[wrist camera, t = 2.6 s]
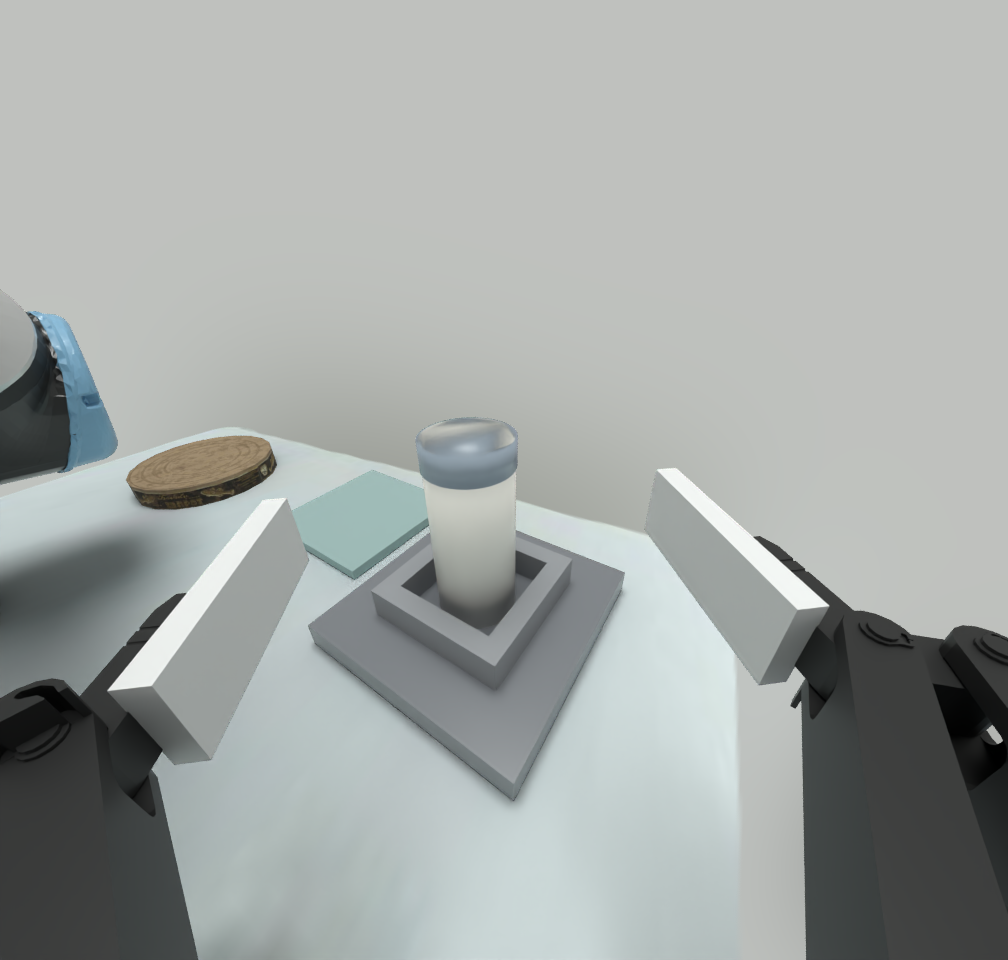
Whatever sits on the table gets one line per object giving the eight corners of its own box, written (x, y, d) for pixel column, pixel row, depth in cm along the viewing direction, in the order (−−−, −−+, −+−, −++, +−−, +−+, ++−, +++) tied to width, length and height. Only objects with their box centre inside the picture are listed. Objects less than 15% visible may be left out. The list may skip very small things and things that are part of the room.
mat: (272, 529, 41) (269, 522, 41) (373, 476, 52) (372, 469, 51) (354, 579, 35) (352, 571, 34) (452, 507, 45) (452, 499, 44)
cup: (422, 606, 29) (393, 442, 22) (470, 560, 34) (459, 411, 27) (486, 644, 26) (477, 468, 19) (530, 588, 31) (535, 429, 24)
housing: (314, 643, 29) (298, 602, 27) (462, 523, 42) (459, 489, 40) (513, 801, 20) (513, 760, 18) (621, 589, 33) (629, 550, 31)
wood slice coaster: (239, 445, 62) (232, 428, 60) (301, 467, 55) (295, 449, 53) (115, 490, 50) (103, 470, 48) (175, 526, 43) (163, 504, 41)
